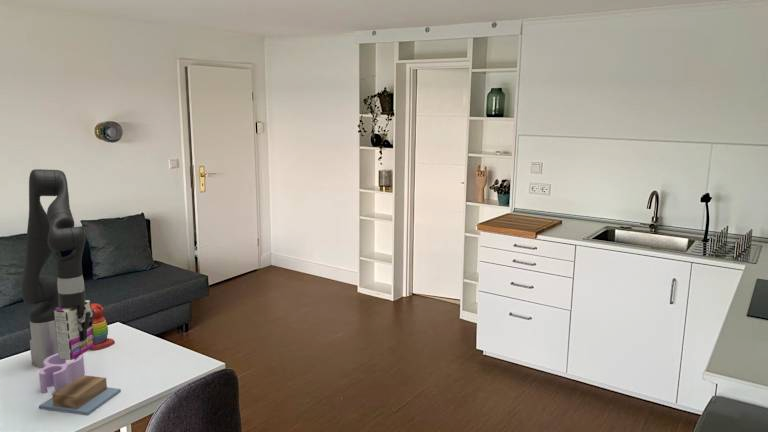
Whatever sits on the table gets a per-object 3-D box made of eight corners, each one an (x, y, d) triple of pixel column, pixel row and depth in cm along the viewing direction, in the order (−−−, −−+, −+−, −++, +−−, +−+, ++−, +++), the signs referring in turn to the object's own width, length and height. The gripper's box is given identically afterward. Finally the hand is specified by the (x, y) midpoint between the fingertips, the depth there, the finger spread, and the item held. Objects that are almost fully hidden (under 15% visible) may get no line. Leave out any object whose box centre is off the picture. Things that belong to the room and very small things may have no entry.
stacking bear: (117, 342, 243) (113, 300, 239) (100, 352, 233) (96, 309, 230) (94, 339, 245) (90, 298, 242) (76, 349, 235) (72, 306, 232)
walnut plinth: (53, 405, 189) (52, 394, 189) (83, 385, 203) (82, 375, 202) (77, 409, 187) (76, 397, 187) (106, 388, 201) (106, 377, 200)
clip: (69, 392, 201) (67, 373, 199) (30, 394, 199) (28, 375, 198) (91, 366, 220) (89, 349, 219) (55, 368, 219) (53, 350, 217)
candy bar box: (82, 345, 198) (78, 298, 195) (95, 347, 197) (91, 300, 194) (57, 359, 188) (52, 310, 184) (71, 360, 187) (66, 311, 183)
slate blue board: (39, 408, 189) (38, 405, 189) (74, 385, 205) (74, 383, 205) (88, 415, 186) (87, 412, 186) (120, 391, 201) (120, 388, 201)
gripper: (43, 291, 186) (48, 342, 189) (82, 294, 183) (87, 346, 186) (60, 284, 193) (65, 333, 197) (99, 287, 191) (103, 337, 194)
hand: (75, 339), depth 192 cm, fingers closed on candy bar box, 5 cm apart
